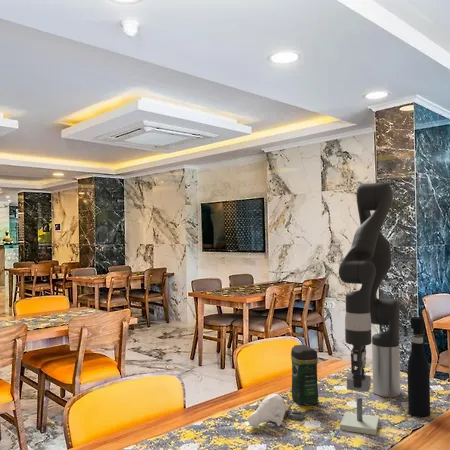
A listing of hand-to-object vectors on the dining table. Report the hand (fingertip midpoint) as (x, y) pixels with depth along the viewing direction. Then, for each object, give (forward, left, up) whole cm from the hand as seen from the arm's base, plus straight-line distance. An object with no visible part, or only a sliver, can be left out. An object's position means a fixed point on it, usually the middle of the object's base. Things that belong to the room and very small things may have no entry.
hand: (359, 383), depth 138 cm
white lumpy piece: (+10, -26, -13) cm, 31 cm away
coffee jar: (-14, -20, -13) cm, 28 cm away
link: (0, 0, -1) cm, 1 cm away
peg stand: (0, 0, -12) cm, 12 cm away
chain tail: (+1, -21, -12) cm, 24 cm away
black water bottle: (-16, +16, -13) cm, 26 cm away
